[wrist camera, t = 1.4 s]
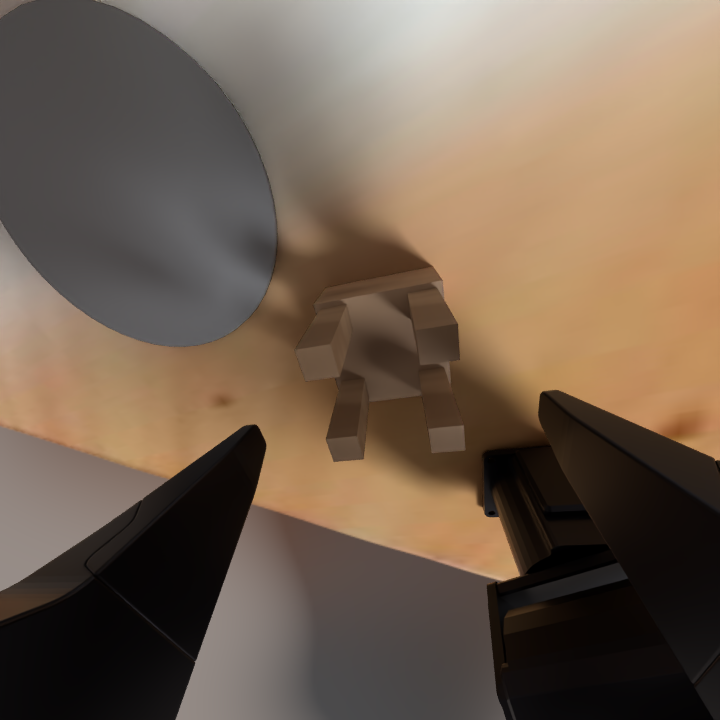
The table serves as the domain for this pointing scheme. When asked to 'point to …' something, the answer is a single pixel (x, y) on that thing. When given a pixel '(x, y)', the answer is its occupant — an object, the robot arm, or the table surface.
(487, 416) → the table surface
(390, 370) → the stool
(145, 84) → the mat
